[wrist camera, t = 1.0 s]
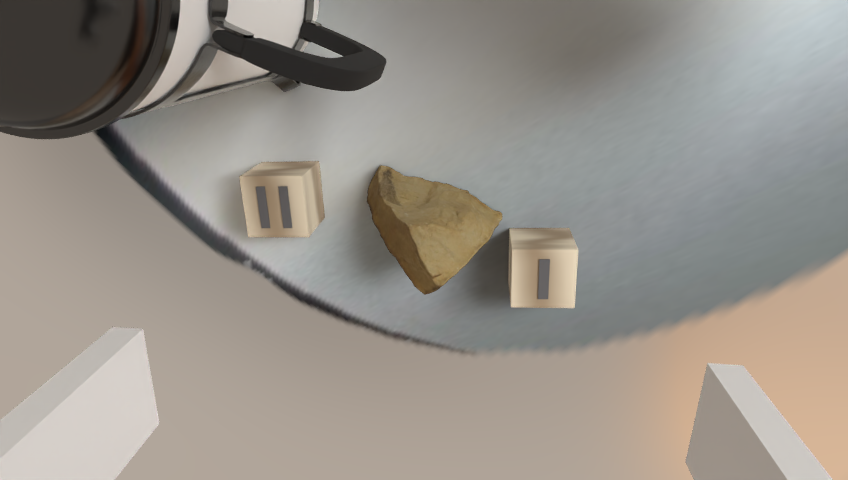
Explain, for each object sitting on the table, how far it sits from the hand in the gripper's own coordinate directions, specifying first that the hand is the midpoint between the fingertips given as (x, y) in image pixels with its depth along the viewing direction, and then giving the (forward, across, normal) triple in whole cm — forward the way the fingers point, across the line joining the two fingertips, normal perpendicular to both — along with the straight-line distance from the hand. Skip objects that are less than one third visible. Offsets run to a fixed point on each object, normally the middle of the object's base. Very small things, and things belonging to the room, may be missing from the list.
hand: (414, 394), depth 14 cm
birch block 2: (+35, +7, -10) cm, 38 cm away
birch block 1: (+36, -14, -5) cm, 39 cm away
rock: (+36, -2, -6) cm, 36 cm away
